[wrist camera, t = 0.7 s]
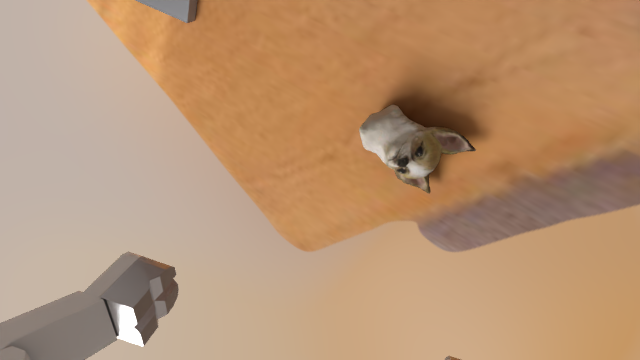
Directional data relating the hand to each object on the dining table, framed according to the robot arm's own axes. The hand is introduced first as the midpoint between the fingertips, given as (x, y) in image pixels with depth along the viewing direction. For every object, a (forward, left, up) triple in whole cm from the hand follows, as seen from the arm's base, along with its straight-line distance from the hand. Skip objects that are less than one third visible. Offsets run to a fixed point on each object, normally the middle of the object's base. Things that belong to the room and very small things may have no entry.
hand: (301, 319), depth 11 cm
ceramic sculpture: (+13, +7, -44) cm, 46 cm away
